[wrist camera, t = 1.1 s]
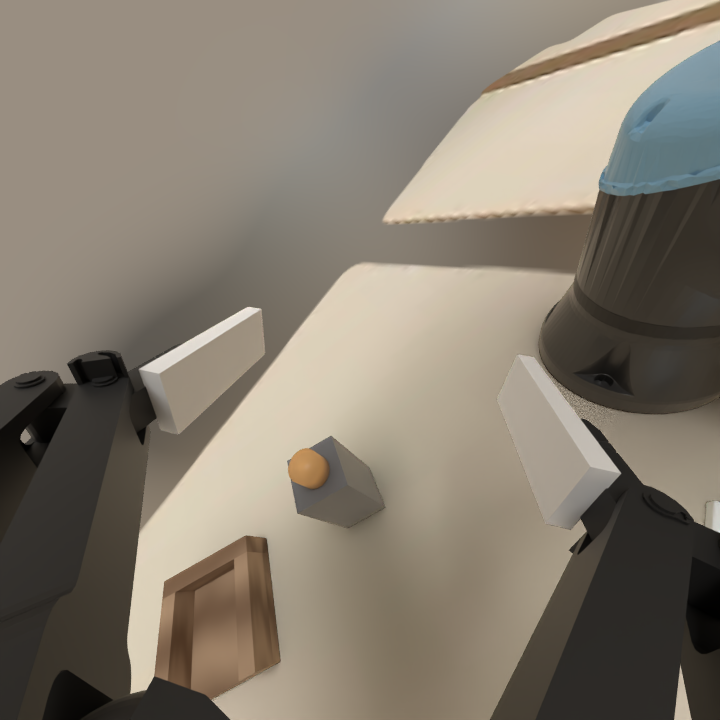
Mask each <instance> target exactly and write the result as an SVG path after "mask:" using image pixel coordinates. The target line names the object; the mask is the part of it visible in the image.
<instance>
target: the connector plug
mask: <svg viewBox="0 0 720 720" xmlns="http://www.w3.org/2000/svg"><path fill="white" fill-rule="evenodd" d="M287 462H288V473H289V477H290V478H291V483H292V488H293V493H294V498H295V503H296V508H297V513H298V514H301V515H304V516H308V517H311V518H315V519H318V520H322V521H325V522H328V523H332V524H335V525H339V526H342V527H346V528H349V527H351V526H353V525H355V524H356V523H358V522H360V521H362V520H364V519H365V518H367V517H369V516H371V515H372V514H374V513H376V512H378V511H380V510H381V509H383V508H385V505H384V502H383V500H382V498H381V495H380V493H379V490H378V488H377V485H376V483H375V481H374V478H373V476H372V473H371V471H370V468H369V467H368V466H367V465H366V464H364V463H363V462H362V461H361V460H360V459H358V458H357V457H356V456H355V455H354V454H352V453H351V452H350V451H349V450H348V449H346V448H345V447H344V446H343V445H342V444H340V443H339V442H338V441H337V440H336V439H334V438H333V437H332V436H330V437H328V438H326V439H325V440H323V441H321V442H319V443H318V444H316V445H314V446H313V447H311V448H305V449H302V450H299V451H298V452H297V453H296V454H295V455H294V456H293V457H292V459H290V460H288V461H287Z"/></svg>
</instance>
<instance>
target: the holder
mask: <svg viewBox="0 0 720 720" xmlns="http://www.w3.org/2000/svg"><path fill="white" fill-rule="evenodd" d="M279 662H280V654H279V645H278V636H277V627H276V619H275V610H274V601H273V592H272V583H271V575H270V566H269V557H268V548H267V540H266V538H260V537H253V536H244V537H242V538H240V539H239V540H237V541H235V542H233V543H232V544H230V545H228V546H226V547H225V548H223V549H221V550H219V551H218V552H216V553H214V554H212V555H210V556H209V557H207V558H205V559H203V560H202V561H200V562H198V563H196V564H195V565H193V566H191V567H189V568H188V569H186V570H184V571H182V572H180V573H179V574H177V575H175V576H173V577H172V578H170V579H168V580H166V581H165V582H164V590H163V599H162V609H161V618H160V628H159V637H158V646H157V656H156V665H155V675H154V676H155V677H158V678H161V679H164V680H166V681H169V682H172V683H175V684H178V685H180V686H183V687H186V688H189V689H191V690H194V691H197V692H200V693H202V694H205V695H206V696H207V697H208V698H209V699H210V700H211V699H213V698H215V697H217V696H219V695H220V694H222V693H224V692H226V691H228V690H230V689H231V688H233V687H235V686H237V685H239V684H240V683H242V682H244V681H246V680H248V679H250V678H251V677H253V676H255V675H257V674H259V673H260V672H262V671H264V670H266V669H268V668H270V667H271V666H273V665H275V664H277V663H279Z"/></svg>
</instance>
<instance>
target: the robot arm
mask: <svg viewBox="0 0 720 720" xmlns="http://www.w3.org/2000/svg"><path fill="white" fill-rule="evenodd" d="M599 189H600V190H599V193H598V197H597V201H596V204H595V208H594V211H593V215H592V219H591V222H590V226H589V229H588V234H587V237H586V240H585V244H584V247H583V252H582V255H581V258H580V262H579V266H578V269H577V272H576V276H575V280H574V283H573V284H572V285H571V286H570V288H569V289H568V291H567V292H566V293H565V295H564V296H563V297H562V299H561V300H560V301H559V302H558V303H557V304H556V305H554V307H553V308H552V309H551V310H550V311H549V313H548V314H547V316H546V318H545V320H544V322H543V325H542V329H541V334H540V339H539V351H540V355H541V358H542V360H543V362H544V364H545V366H546V367H547V369H548V370H549V372H550V373H551V374H552V375H553V376H554V377H555V378H556V379H557V380H558V381H559V382H560V383H561V384H563V385H564V386H565V387H567V388H568V389H569V390H571V391H573V392H574V393H576V394H578V395H580V396H581V397H584V398H586V399H588V400H590V401H593V402H595V403H598V404H601V405H604V406H607V407H610V408H614V409H618V410H623V411H629V412H636V413H649V414H662V413H675V412H681V411H686V410H690V409H694V408H697V407H700V406H703V405H705V404H707V403H709V402H712V401H713V400H715V399H717V398H718V397H719V396H720V41H718V42H716V43H714V44H712V45H710V46H708V47H706V48H705V49H703V50H701V51H699V52H698V53H696V54H694V55H692V56H691V57H689V58H687V59H686V60H684V61H683V62H681V63H680V64H678V65H676V66H675V67H674V68H672V69H671V70H669V71H668V72H667V73H665V74H664V75H663V76H661V77H660V78H659V79H658V80H656V81H655V82H654V83H653V84H652V85H651V86H650V87H649V88H648V89H646V90H645V91H644V92H643V93H642V94H641V96H640V97H639V98H638V99H637V100H636V101H635V103H634V104H633V105H632V107H631V108H630V110H629V111H628V113H627V114H626V116H625V118H624V120H623V122H622V124H621V127H620V130H619V133H618V136H617V139H616V142H615V145H614V148H613V151H612V153H611V156H610V159H609V162H608V165H607V166H606V167H605V169H604V170H603V172H602V174H601V177H600V180H599ZM264 354H265V347H264V335H263V323H262V312H261V309H258V308H252V307H247V308H245V309H244V310H242V311H240V312H238V313H236V314H235V315H233V316H231V317H229V318H228V319H226V320H224V321H222V322H221V323H219V324H217V325H215V326H213V327H212V328H210V329H208V330H207V331H205V332H203V333H201V334H199V335H198V336H196V337H194V338H192V339H191V340H189V341H187V342H185V343H182V344H179V345H176V346H173V347H172V348H170V349H168V350H166V351H165V352H164V353H161V354H159V355H157V356H156V358H152V359H150V360H148V361H147V362H145V363H143V364H142V365H139V366H138V367H136V368H134V369H132V370H130V371H129V372H127V369H126V367H125V364H124V362H123V359H122V356H121V354H120V353H118V352H116V351H96V352H90V353H87V354H84V355H81V356H78V357H76V358H74V359H72V360H71V361H70V362H69V363H68V366H69V368H70V370H71V372H72V374H73V376H74V378H75V380H76V382H77V384H63V382H62V380H61V379H60V376H59V375H58V373H56V372H53V371H38V372H36V371H35V372H29V373H25V374H21V375H20V376H18V377H15V378H12V379H10V380H8V381H6V382H5V383H3V384H2V385H0V720H230V719H229V718H228V717H227V716H226V715H225V714H224V713H223V712H222V711H221V710H220V709H219V708H218V707H217V706H216V705H215V704H214V703H213V702H212V701H211V700H210V699H209V698H208V697H207V696H206V695H205V694H202V693H200V692H197V691H194V690H191V689H189V688H186V687H183V686H180V685H178V684H175V683H172V682H169V681H166V680H164V679H161V678H158V677H155V676H154V678H153V680H152V682H151V683H150V685H149V687H148V689H147V690H145V691H140V692H136V693H132V694H130V691H131V664H130V659H129V654H128V649H127V633H128V624H129V616H130V607H131V598H132V589H133V581H134V572H135V563H136V555H137V546H138V537H139V528H140V519H141V511H142V502H143V494H144V485H145V475H146V467H147V459H148V450H149V441H150V428H149V426H148V424H149V423H151V422H152V421H153V420H155V419H157V422H158V424H159V427H160V430H162V431H166V432H171V433H175V434H180V433H181V432H182V431H183V430H184V429H185V428H186V427H187V426H188V425H189V424H190V423H191V422H193V421H194V420H195V419H196V418H197V417H198V416H199V415H200V414H201V413H202V412H203V411H204V410H205V409H206V408H208V407H209V406H210V405H211V404H212V403H213V402H214V401H215V400H216V399H217V398H218V397H219V396H220V395H221V394H222V393H224V392H225V391H226V390H227V389H228V388H229V387H230V386H231V385H232V384H233V383H234V382H235V381H236V380H237V379H238V378H240V377H241V376H242V375H243V374H244V373H245V372H246V371H247V370H248V369H249V368H250V367H252V366H253V365H254V364H255V363H256V362H257V361H258V360H259V359H260V358H261V357H262V356H263V355H264ZM497 402H498V404H499V407H500V409H501V412H502V414H503V417H504V420H505V422H506V425H507V427H508V430H509V432H510V435H511V437H512V440H513V443H514V445H515V448H516V450H517V453H518V455H519V458H520V460H521V463H522V466H523V468H524V471H525V473H526V476H527V478H528V481H529V484H530V486H531V489H532V491H533V494H534V496H535V499H536V501H537V504H538V507H539V509H540V512H541V514H542V517H543V519H544V522H545V524H549V525H553V526H557V527H561V528H565V529H570V530H571V529H572V528H573V526H574V525H575V524H576V523H577V522H578V521H579V520H580V519H581V520H582V522H583V524H584V526H585V528H586V530H587V532H586V533H585V534H584V535H583V536H582V537H581V538H580V539H579V540H578V541H577V542H576V543H575V544H574V545H573V546H572V547H571V548H570V550H569V551H570V552H572V553H573V555H572V557H571V559H570V561H569V563H568V565H567V567H566V569H565V571H564V573H563V575H562V577H561V579H560V581H559V583H558V585H557V587H556V589H555V591H554V593H553V595H552V597H551V599H550V601H549V603H548V605H547V607H546V609H545V611H544V613H543V615H542V617H541V619H540V621H539V623H538V625H537V627H536V629H535V631H534V633H533V635H532V637H531V639H530V641H529V643H528V645H527V647H526V649H525V651H524V653H523V655H522V657H521V659H520V661H519V663H518V665H517V667H516V669H515V671H514V673H513V675H512V677H511V679H510V681H509V683H508V685H507V687H506V689H505V691H504V693H503V695H502V697H501V699H500V701H499V703H498V705H497V707H496V709H495V711H494V713H493V715H492V717H491V719H490V720H674V715H675V706H676V697H677V688H678V679H679V670H680V664H681V669H682V674H683V679H684V684H685V689H686V694H687V699H688V704H689V709H690V713H691V718H692V720H720V533H719V532H717V531H714V530H712V529H710V528H707V527H705V526H703V525H700V524H698V523H696V522H694V520H693V518H692V517H691V516H690V514H689V513H688V512H687V511H686V510H685V509H684V508H683V507H682V506H681V505H680V504H679V503H677V502H676V501H675V500H673V499H672V498H670V497H669V496H667V495H666V494H664V493H663V492H661V491H658V490H656V489H654V488H652V487H649V486H646V485H643V484H642V483H641V481H640V480H639V479H638V478H637V476H636V475H635V474H634V473H633V471H632V470H631V469H630V468H629V466H628V465H627V464H626V463H625V461H624V460H623V459H622V458H621V456H620V455H619V454H618V453H616V450H615V449H614V448H613V446H612V445H611V444H609V443H608V442H609V441H608V440H607V439H606V438H605V436H604V435H603V434H602V433H601V431H600V430H599V429H597V428H596V427H595V426H594V425H592V424H591V423H590V422H589V421H587V420H585V419H580V418H579V417H578V415H577V414H576V413H575V411H574V410H573V409H572V407H571V406H570V405H569V403H568V402H567V401H566V399H565V398H564V397H563V395H562V394H561V393H560V391H559V390H558V389H557V387H556V386H555V385H554V383H553V382H552V381H551V379H550V378H549V377H548V375H547V374H546V373H545V371H544V370H543V369H542V367H541V366H540V365H539V363H538V362H537V361H536V359H535V358H534V357H531V356H525V355H520V354H517V355H516V357H515V360H514V362H513V364H512V366H511V369H510V371H509V373H508V375H507V377H506V380H505V382H504V384H503V386H502V388H501V391H500V393H499V395H498V397H497ZM24 429H26V430H27V431H28V433H29V434H30V436H31V439H29V441H28V442H27V443H25V444H24V443H23V442H22V441H21V440H20V436H21V434H22V432H23V431H24Z"/></svg>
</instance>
